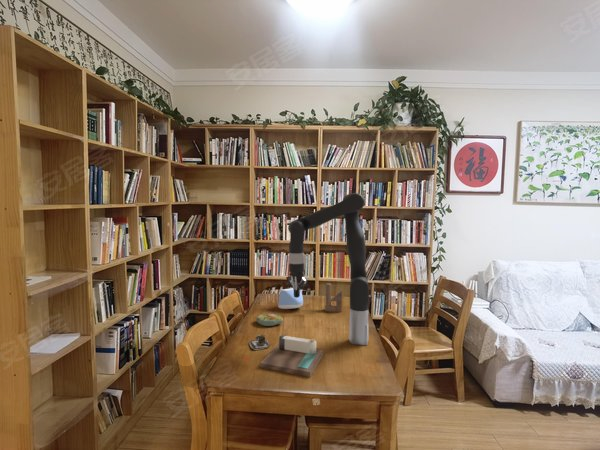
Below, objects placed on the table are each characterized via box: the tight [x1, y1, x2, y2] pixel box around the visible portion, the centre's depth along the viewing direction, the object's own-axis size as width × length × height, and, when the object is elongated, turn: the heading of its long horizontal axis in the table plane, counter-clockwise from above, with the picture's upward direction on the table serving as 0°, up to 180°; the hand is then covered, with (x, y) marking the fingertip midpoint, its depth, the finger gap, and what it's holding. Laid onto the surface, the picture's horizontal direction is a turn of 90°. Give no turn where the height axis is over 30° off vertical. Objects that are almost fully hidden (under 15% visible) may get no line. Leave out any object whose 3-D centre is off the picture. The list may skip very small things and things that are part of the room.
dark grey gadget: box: [249, 334, 270, 351], centre depth 153 cm, size 12×6×11 cm
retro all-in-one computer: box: [277, 287, 304, 310], centre depth 206 cm, size 21×19×14 cm
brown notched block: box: [324, 282, 343, 313], centre depth 203 cm, size 4×11×18 cm, turn 81°
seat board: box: [259, 343, 324, 378], centre depth 137 cm, size 22×20×2 cm
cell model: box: [256, 313, 284, 327], centre depth 179 cm, size 11×8×15 cm
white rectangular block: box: [278, 334, 317, 354], centre depth 143 cm, size 18×4×6 cm, turn 71°
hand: (296, 297), depth 152 cm, fingers closed
